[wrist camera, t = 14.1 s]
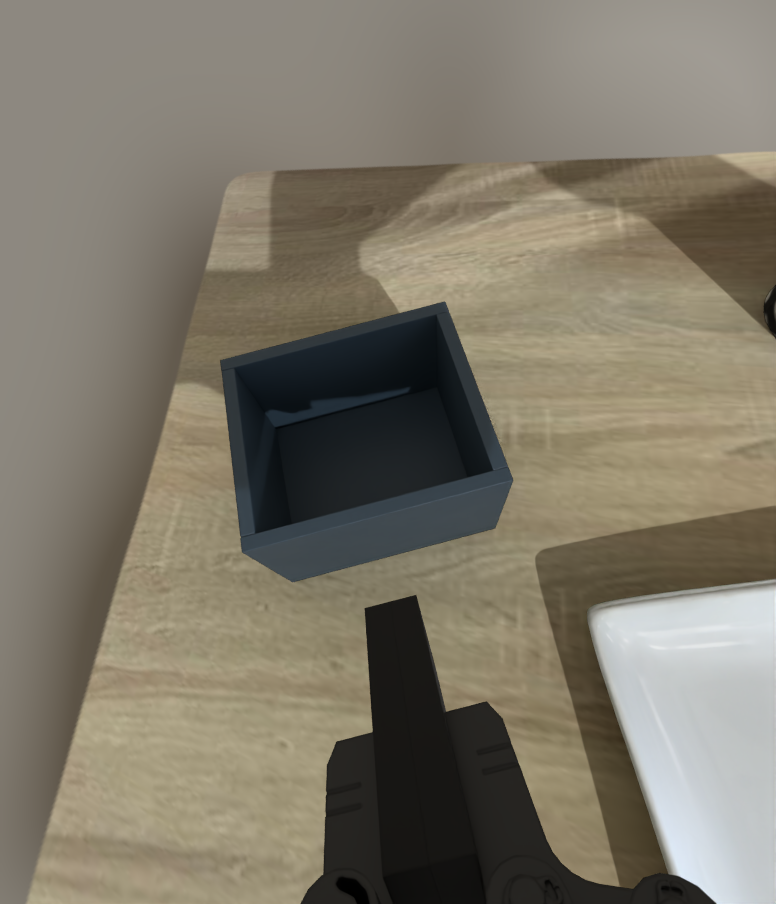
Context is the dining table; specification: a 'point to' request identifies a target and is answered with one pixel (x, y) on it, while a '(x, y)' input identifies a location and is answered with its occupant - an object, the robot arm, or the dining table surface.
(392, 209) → the dining table surface
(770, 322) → the white-spotted black cylinder
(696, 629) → the square plate
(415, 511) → the navy storage bin
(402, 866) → the robot arm
